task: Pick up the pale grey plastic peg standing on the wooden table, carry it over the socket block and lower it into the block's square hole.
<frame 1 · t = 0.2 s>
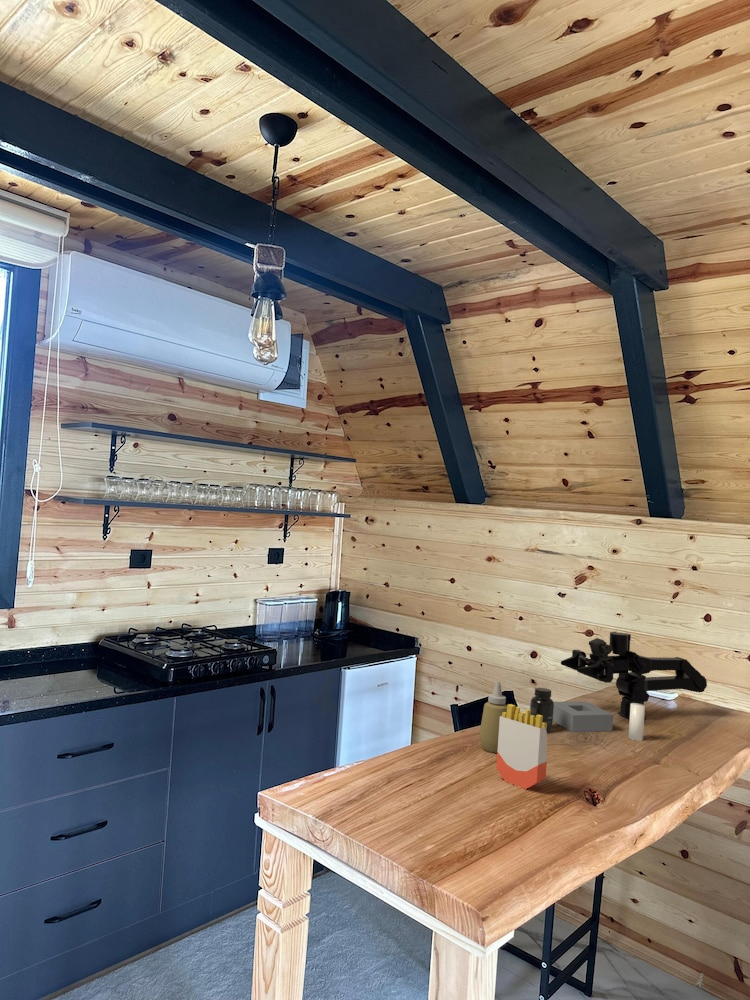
hand: (569, 666, 217), 17 cm above the table, tool horizontal, fingers open, 9 cm apart
french fries container: (520, 784, 160), on the table
socket block: (579, 724, 212), on the table
supplement bottle: (540, 730, 203), on the table
peg: (635, 738, 201), on the table
squeeze bottle: (493, 750, 182), on the table
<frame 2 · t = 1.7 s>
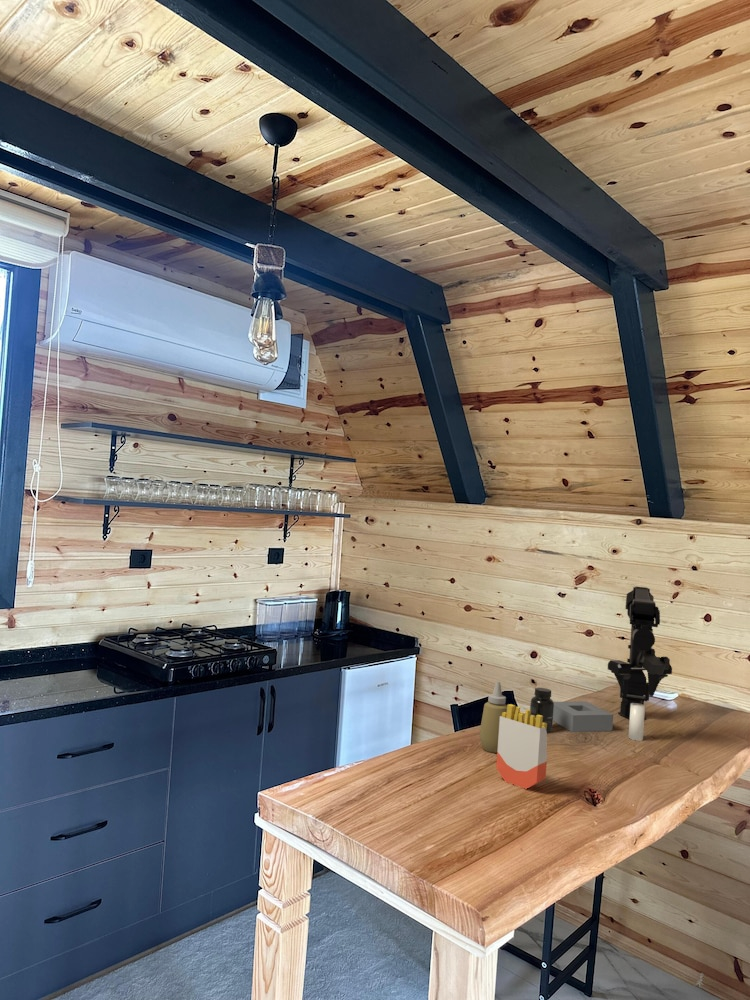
hand: (638, 696, 202), 13 cm above the table, tool pointing down, fingers open, 9 cm apart
nothing on the table moved.
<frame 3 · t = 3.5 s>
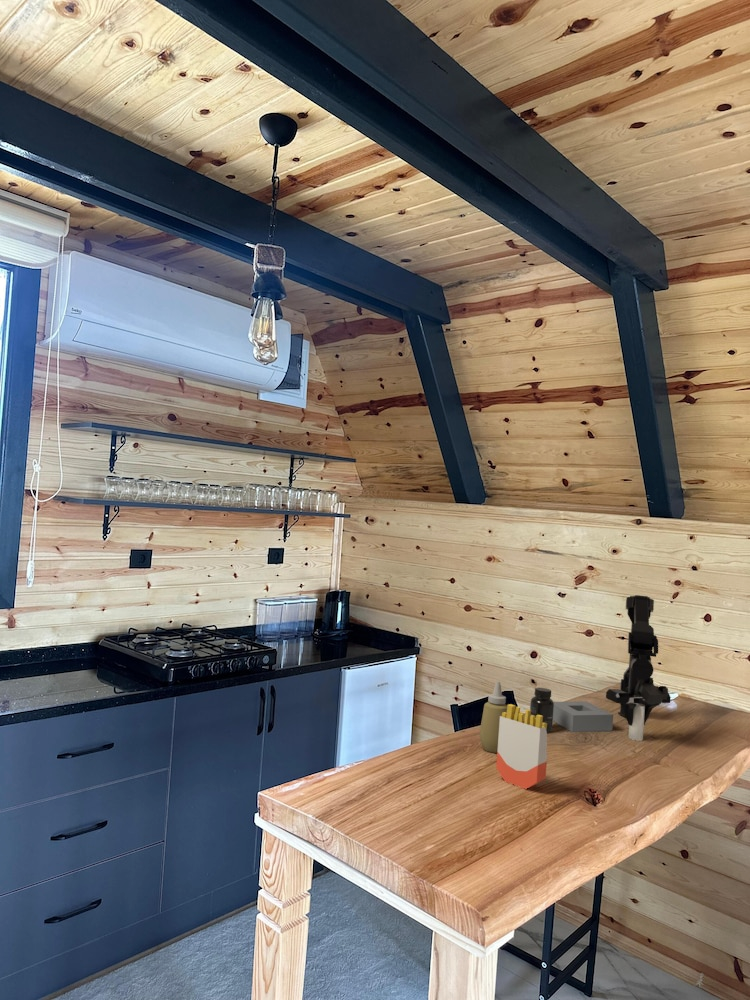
hand: (636, 725, 201), 4 cm above the table, tool pointing down, fingers closed on peg, 4 cm apart
peg: (635, 738, 201), on the table, touching gripper
everything else where it was.
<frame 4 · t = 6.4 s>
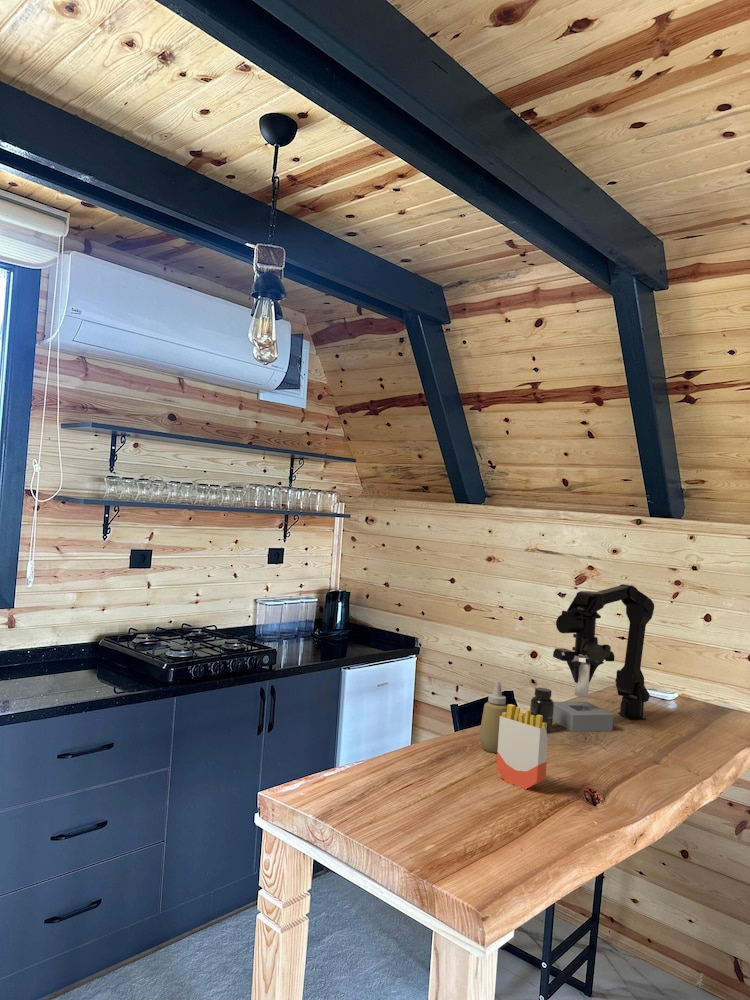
hand: (582, 682, 212), 13 cm above the table, tool pointing down, fingers closed on peg, 4 cm apart
peg: (581, 695, 212), point 9 cm above the table, touching gripper
everything else where it was.
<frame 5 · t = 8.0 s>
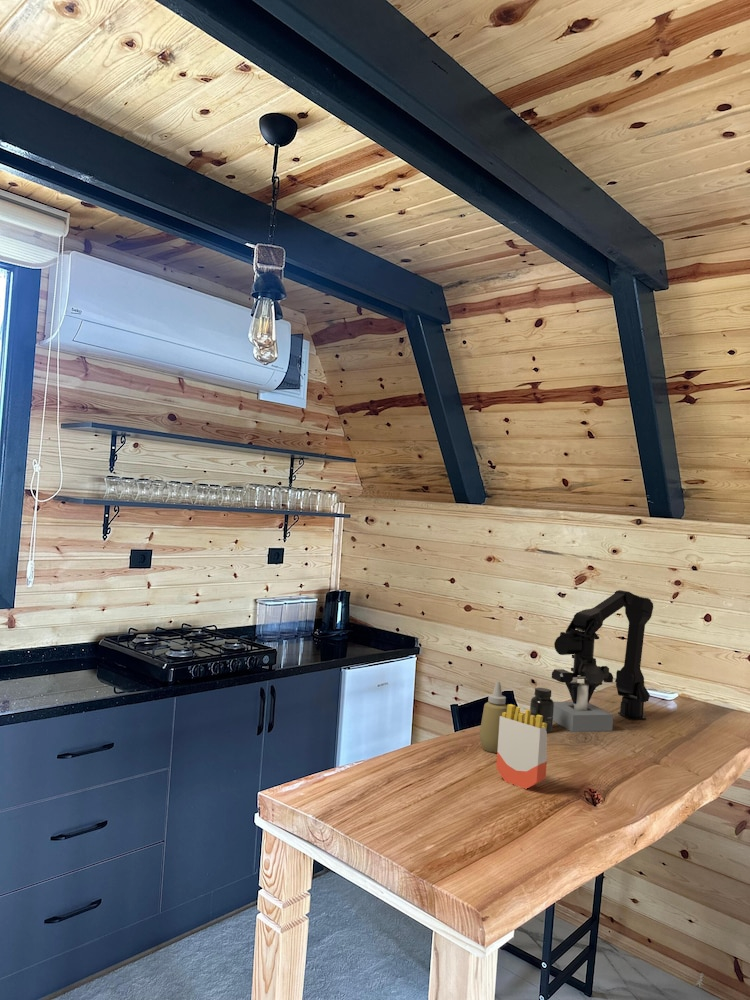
hand: (580, 703, 212), 6 cm above the table, tool pointing down, fingers closed on peg, 4 cm apart
peg: (579, 716, 212), point 2 cm above the table, touching gripper
everything else where it was.
when the fingers open (6 cm above the table, at t = 9.2 s): peg drops 2 cm, resting in socket block.
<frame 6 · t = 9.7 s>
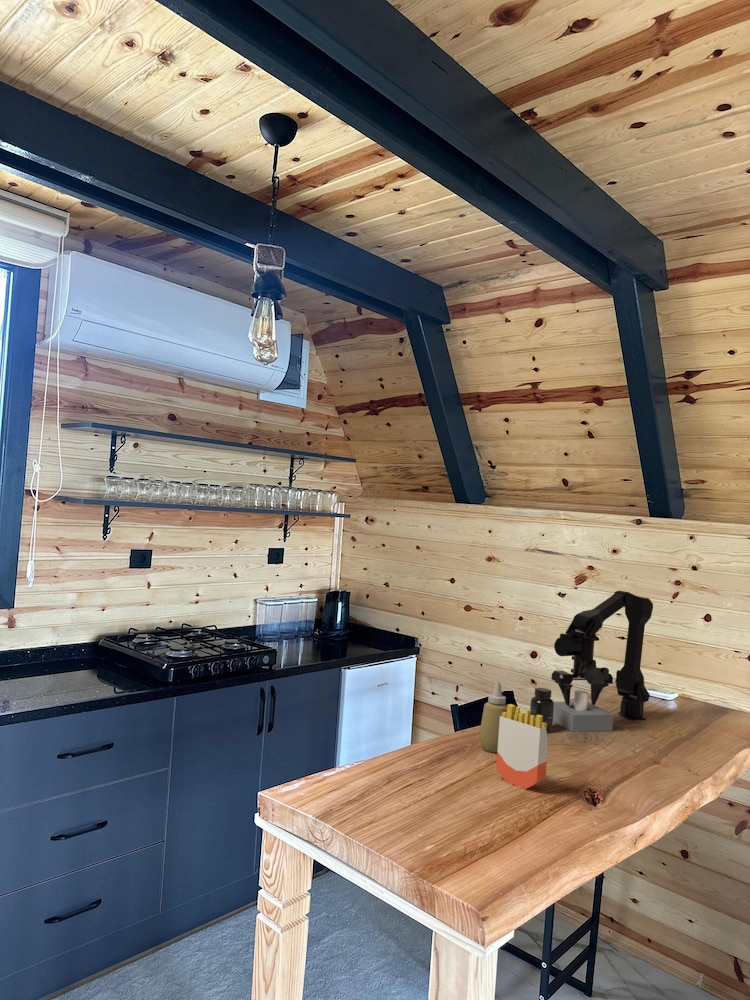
hand: (580, 704, 212), 6 cm above the table, tool pointing down, fingers open, 9 cm apart
peg: (579, 724, 212), resting in socket block
everything else where it was.
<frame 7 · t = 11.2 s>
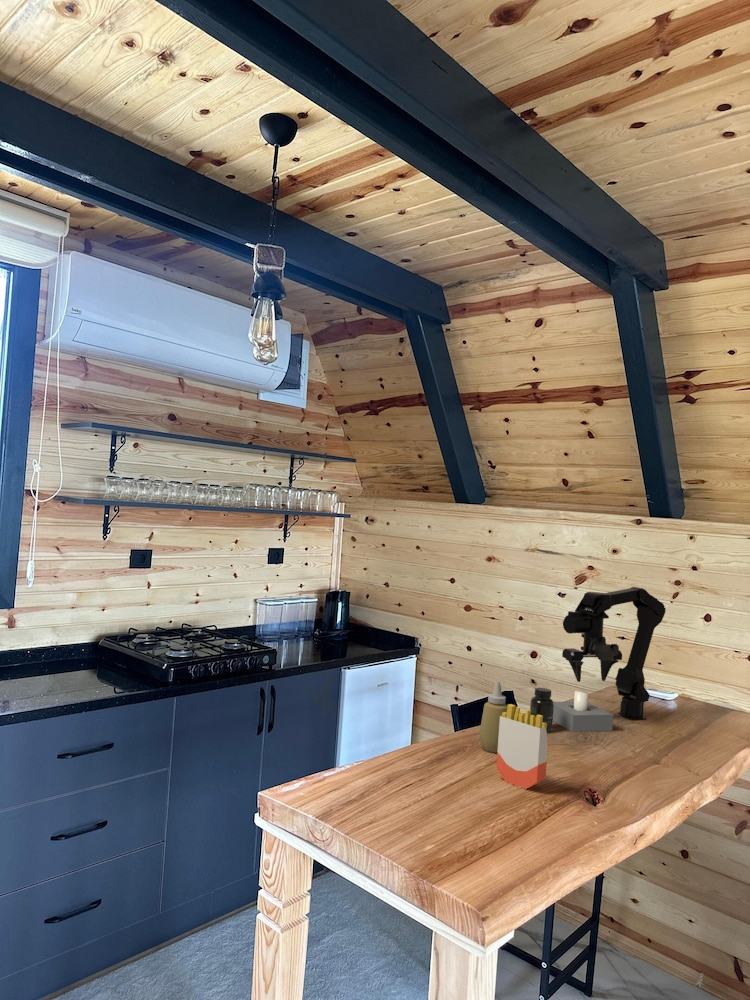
hand: (591, 681, 217), 13 cm above the table, tool pointing down, fingers open, 9 cm apart
nothing on the table moved.
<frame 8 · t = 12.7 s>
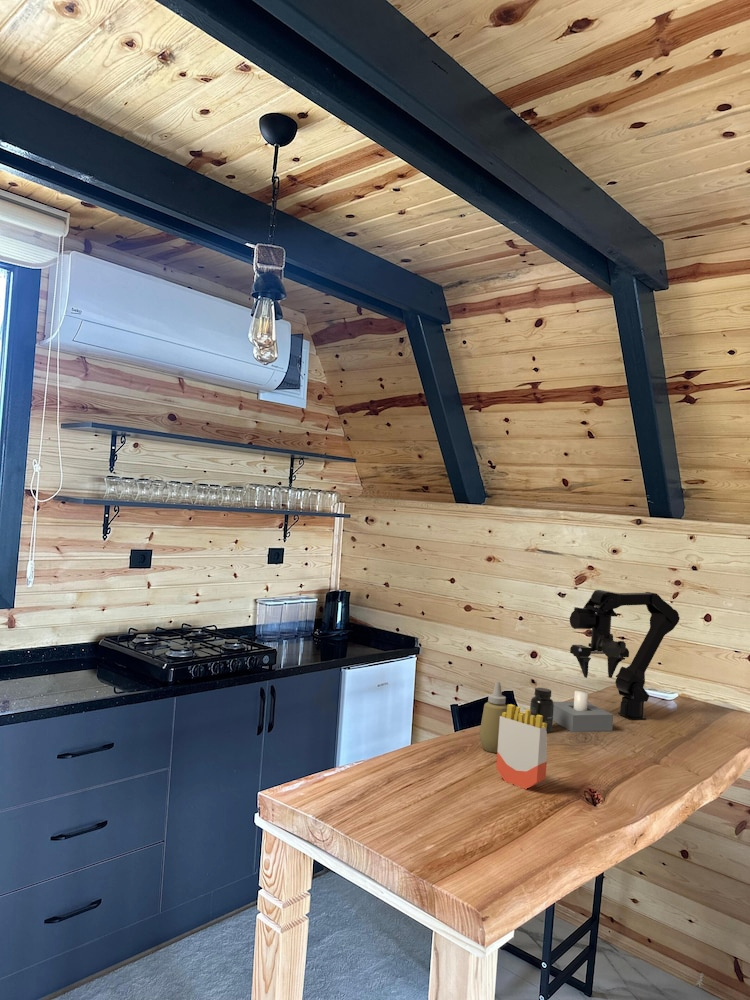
hand: (597, 677, 221), 13 cm above the table, tool pointing down, fingers open, 9 cm apart
nothing on the table moved.
at the end: peg 0.1 cm off-centre on the socket block, point 0.0 cm above the socket block's base; peg tilted 0°; the gripper is holding nothing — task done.
